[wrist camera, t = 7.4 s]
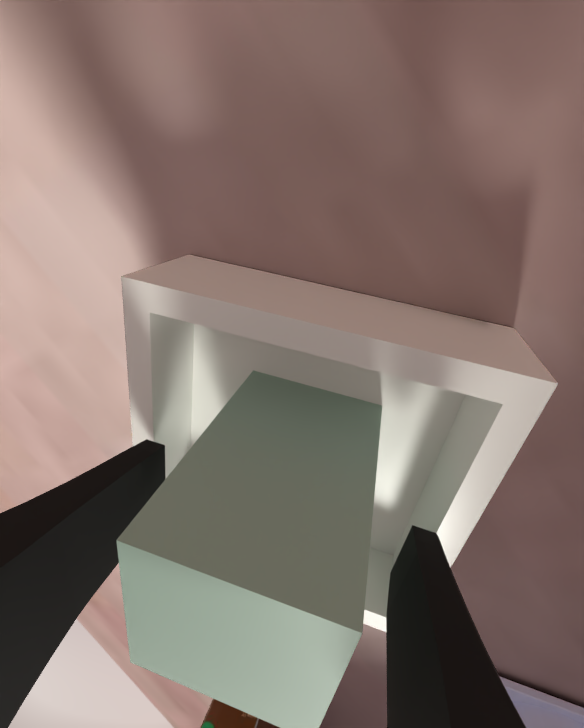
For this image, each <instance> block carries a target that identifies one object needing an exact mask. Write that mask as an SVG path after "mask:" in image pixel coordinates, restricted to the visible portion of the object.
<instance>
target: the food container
mask: <svg viewBox="0 0 584 728" xmlns="http://www.w3.org/2000/svg"><path fill="white" fill-rule="evenodd" d="M201 728H280V727H277V726H275V725H273V724H271V723H268V722H266V721H264V720H261V719H259V718H257V717H255V716H252V715H250V714H248V713H245V712H243V711H241V710H239V709H236V708H234V707H232V706H229V705H227V704H225V703H223V702H220V701H218V700H216V699H213V700H212V703H211V705H210V707H209V709H208V712H207V714H206V716H205V719H204V721H203V723H202V725H201Z"/></svg>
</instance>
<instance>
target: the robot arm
mask: <svg viewBox="0 0 584 728" xmlns="http://www.w3.org/2000/svg"><path fill="white" fill-rule="evenodd" d="M164 481H165V445H163V444H160V443H157V442H154V441H151V440H147V439H146V440H144V441H142V442H140V443H139V444H137V445H135V446H133V447H131V448H129V449H128V450H126V451H124V452H122V453H120V454H118V455H117V456H115V457H113V458H111V459H109V460H107V461H106V462H104V463H102V464H100V465H98V466H96V467H95V468H93V469H91V470H89V471H87V472H85V473H83V474H81V475H79V476H78V477H76V478H74V479H72V480H70V481H68V482H66V483H64V484H62V485H60V486H58V487H56V488H54V489H52V490H50V491H48V492H46V493H44V494H42V495H39V496H37V497H35V498H33V499H31V500H29V501H27V502H25V503H23V504H21V505H18V506H16V507H14V508H12V509H9V510H7V511H5V512H2V513H0V728H8V727H9V725H10V723H11V721H12V720H13V718H14V716H15V715H16V713H17V711H18V710H19V708H20V706H21V705H22V703H23V701H24V700H25V698H26V697H27V695H28V693H29V692H30V690H31V688H32V687H33V685H34V684H35V682H36V681H37V679H38V677H39V676H40V674H41V672H42V671H43V669H44V668H45V666H46V664H47V663H48V661H49V660H50V658H51V657H52V655H53V653H54V652H55V650H56V649H57V647H58V646H59V644H60V643H61V641H62V640H63V638H64V637H65V635H66V633H67V632H68V630H69V629H70V627H71V626H72V624H73V623H74V621H75V620H76V618H77V617H78V615H79V614H80V613H81V611H82V610H83V608H84V607H85V606H86V604H87V603H88V602H89V600H90V599H91V597H92V596H93V595H94V594H95V592H96V591H97V590H98V588H99V587H100V586H101V585H102V583H103V582H104V581H105V579H106V578H107V577H108V576H109V574H110V573H111V572H112V570H113V569H114V568H115V567H116V565H117V564H118V563H119V559H118V550H117V541H116V540H117V539H118V538H119V536H120V535H121V534H122V533H123V531H124V530H125V529H126V528H127V526H128V525H129V524H130V523H131V521H132V520H133V519H134V518H135V517H136V515H137V514H138V513H139V512H140V510H141V509H142V508H143V507H144V505H145V504H146V503H147V502H148V500H149V499H150V498H151V497H152V495H153V494H154V493H155V492H156V490H157V489H158V488H159V487H160V485H161V484H162V483H163V482H164ZM386 635H387V728H584V708H583V707H580V706H577V705H575V704H572V703H569V702H567V701H564V700H561V699H559V698H556V697H553V696H551V695H548V694H545V693H543V692H540V691H537V690H535V689H532V688H529V687H527V686H524V685H521V684H519V683H516V682H513V681H511V680H508V679H505V678H503V677H500V676H499V675H498V673H497V671H496V669H495V667H494V665H493V663H492V661H491V659H490V657H489V655H488V652H487V650H486V648H485V646H484V644H483V642H482V640H481V638H480V635H479V633H478V631H477V629H476V627H475V624H474V622H473V620H472V618H471V615H470V613H469V611H468V609H467V607H466V604H465V602H464V600H463V597H462V595H461V593H460V590H459V588H458V585H457V583H456V580H455V578H454V576H453V573H452V571H451V568H450V566H449V563H448V560H447V558H446V555H445V553H444V550H443V547H442V545H441V542H440V539H439V537H438V535H437V534H436V533H435V532H432V531H429V530H426V529H422V528H419V527H416V526H413V525H412V527H411V529H410V531H409V533H408V536H407V538H406V540H405V542H404V544H403V546H402V549H401V551H400V553H399V555H398V557H397V559H396V562H395V564H394V566H393V568H392V570H391V572H390V581H389V591H388V602H387V614H386Z"/></svg>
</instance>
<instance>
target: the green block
mask: <svg viewBox="0 0 584 728" xmlns="http://www.w3.org/2000/svg"><path fill="white" fill-rule="evenodd" d="M381 415H382V405H378V404H375V403H371V402H367V401H364V400H360V399H356V398H353V397H349V396H345V395H342V394H338V393H334V392H331V391H327V390H323V389H320V388H316V387H312V386H309V385H305V384H301V383H298V382H294V381H290V380H287V379H283V378H279V377H276V376H272V375H268V374H265V373H261V372H257V371H254V370H253V371H252V372H251V374H250V375H249V376H248V377H247V379H246V380H245V381H244V382H243V384H242V385H241V386H240V387H239V389H238V390H237V391H236V392H235V394H234V395H233V396H232V397H231V399H230V400H229V401H228V402H227V404H226V405H225V406H224V407H223V408H222V410H221V411H220V412H219V413H218V415H217V416H216V417H215V418H214V420H213V421H212V422H211V423H210V425H209V426H208V427H207V428H206V430H205V431H204V432H203V433H202V435H201V436H200V437H199V438H198V440H197V441H196V442H195V443H194V444H193V446H192V447H191V448H190V449H189V451H188V452H187V453H186V454H185V456H184V457H183V458H182V459H181V461H180V462H179V463H178V464H177V466H176V467H175V468H174V469H173V471H172V472H171V473H170V474H169V476H168V477H167V478H166V479H165V481H164V482H163V483H162V484H161V485H160V487H159V488H158V489H157V490H156V492H155V493H154V494H153V495H152V497H151V498H150V499H149V500H148V502H147V503H146V504H145V505H144V507H143V508H142V509H141V510H140V512H139V513H138V514H137V515H136V517H135V518H134V519H133V520H132V521H131V523H130V524H129V525H128V526H127V528H126V529H125V530H124V531H123V533H122V534H121V535H120V536H119V538H118V539H117V540H116V541H117V550H118V559H119V567H120V576H121V585H122V593H123V602H124V611H125V619H126V628H127V637H128V645H129V654H130V662H131V663H133V664H136V665H138V666H140V667H143V668H145V669H147V670H149V671H152V672H154V673H156V674H159V675H161V676H163V677H165V678H168V679H170V680H172V681H175V682H177V683H179V684H181V685H184V686H186V687H188V688H191V689H193V690H195V691H197V692H200V693H202V694H204V695H207V696H209V697H211V698H213V699H216V700H218V701H220V702H223V703H225V704H227V705H229V706H232V707H234V708H236V709H239V710H241V711H243V712H245V713H248V714H250V715H252V716H255V717H257V718H259V719H261V720H264V721H266V722H268V723H271V724H273V725H275V726H277V727H280V728H319V727H320V725H321V722H322V720H323V718H324V716H325V714H326V711H327V709H328V707H329V705H330V703H331V701H332V698H333V696H334V694H335V692H336V690H337V687H338V685H339V683H340V681H341V679H342V677H343V674H344V672H345V670H346V668H347V666H348V663H349V661H350V659H351V657H352V655H353V652H354V650H355V648H356V646H357V644H358V642H359V639H360V637H361V635H362V631H363V620H364V608H365V597H366V585H367V574H368V563H369V551H370V540H371V529H372V517H373V506H374V494H375V483H376V472H377V460H378V449H379V438H380V426H381Z"/></svg>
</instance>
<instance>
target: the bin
mask: <svg viewBox="0 0 584 728" xmlns="http://www.w3.org/2000/svg"><path fill="white" fill-rule="evenodd" d="M121 281H122V295H123V310H124V325H125V340H126V355H127V369H128V384H129V399H130V414H131V428H132V443H133V446H135V445H137V444H139V443H140V442H142V441H144V440H146V439H147V440H151V441H154V442H157V443H160V444H163V445H165V479H166V478H167V477H168V476H169V474H170V473H171V472H172V471H173V469H174V468H175V467H176V466H177V464H178V463H179V462H180V461H181V459H182V458H183V457H184V456H185V454H186V453H187V452H188V451H189V449H190V448H191V447H192V446H193V444H194V443H195V442H196V441H197V440H198V438H199V437H200V436H201V435H202V433H203V432H204V431H205V430H206V428H207V427H208V426H209V425H210V423H211V422H212V421H213V420H214V418H215V417H216V416H217V415H218V413H219V412H220V411H221V410H222V408H223V407H224V406H225V405H226V404H227V402H228V401H229V400H230V399H231V397H232V396H233V395H234V394H235V392H236V391H237V390H238V389H239V387H240V386H241V385H242V384H243V382H244V381H245V380H246V379H247V377H248V376H249V375H250V374H251V372H252V371H253V370H254V371H257V372H261V373H265V374H268V375H272V376H276V377H279V378H283V379H287V380H290V381H294V382H298V383H301V384H305V385H309V386H312V387H316V388H320V389H323V390H327V391H331V392H334V393H338V394H342V395H345V396H349V397H353V398H356V399H360V400H364V401H367V402H371V403H375V404H378V405H382V415H381V426H380V438H379V449H378V460H377V472H376V483H375V494H374V506H373V517H372V529H371V540H370V551H369V563H368V574H367V585H366V597H365V608H364V620H363V624H366V625H368V626H371V627H374V628H376V629H379V630H382V631H384V632H386V614H387V602H388V591H389V581H390V572H391V570H392V568H393V566H394V564H395V562H396V559H397V557H398V555H399V553H400V551H401V549H402V546H403V544H404V542H405V540H406V538H407V536H408V533H409V531H410V529H411V527H412V525H413V526H416V527H419V528H422V529H426V530H429V531H432V532H435V533H436V534H437V535H438V537H439V539H440V542H441V545H442V547H443V550H444V553H445V555H446V558H447V560H448V563H449V566H450V568H451V566H452V565H453V563H454V561H455V560H456V558H457V556H458V554H459V553H460V551H461V549H462V548H463V546H464V544H465V542H466V541H467V539H468V537H469V536H470V534H471V532H472V530H473V529H474V527H475V525H476V524H477V522H478V520H479V518H480V517H481V515H482V513H483V512H484V510H485V508H486V506H487V505H488V503H489V501H490V500H491V498H492V496H493V495H494V493H495V491H496V489H497V488H498V486H499V484H500V483H501V481H502V479H503V477H504V476H505V474H506V472H507V471H508V469H509V467H510V465H511V464H512V462H513V460H514V459H515V457H516V455H517V453H518V452H519V450H520V448H521V447H522V445H523V443H524V441H525V440H526V438H527V436H528V435H529V433H530V431H531V429H532V428H533V426H534V424H535V423H536V421H537V419H538V418H539V416H540V414H541V412H542V411H543V409H544V407H545V406H546V404H547V402H548V400H549V399H550V397H551V395H552V394H553V392H554V390H555V388H556V387H557V385H558V383H557V381H556V380H555V379H554V378H553V376H552V375H551V374H550V373H549V371H548V370H547V369H546V368H545V366H544V365H543V364H542V363H541V361H540V360H539V359H538V357H537V356H536V355H535V354H534V352H533V351H532V350H531V349H530V347H529V346H528V345H527V344H526V342H525V341H524V340H523V339H522V337H521V336H520V335H519V334H518V332H517V331H516V330H515V328H511V327H507V326H502V325H498V324H494V323H489V322H485V321H480V320H476V319H471V318H467V317H463V316H458V315H454V314H449V313H445V312H441V311H436V310H432V309H427V308H423V307H419V306H414V305H410V304H405V303H401V302H397V301H392V300H388V299H383V298H379V297H374V296H370V295H366V294H361V293H357V292H352V291H348V290H344V289H339V288H335V287H330V286H326V285H322V284H317V283H313V282H308V281H304V280H299V279H295V278H291V277H286V276H282V275H277V274H273V273H269V272H264V271H260V270H255V269H251V268H247V267H242V266H238V265H233V264H229V263H225V262H220V261H216V260H211V259H207V258H202V257H198V256H194V255H186V256H183V257H180V258H177V259H174V260H170V261H167V262H164V263H161V264H158V265H155V266H152V267H149V268H146V269H142V270H139V271H136V272H133V273H130V274H127V275H124V276H121Z"/></svg>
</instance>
